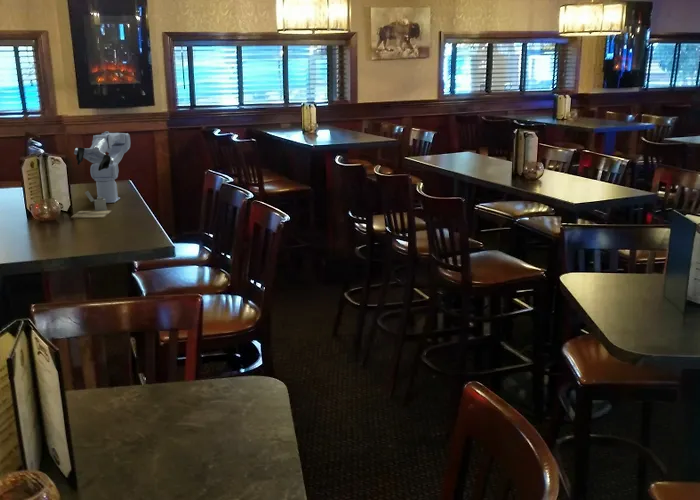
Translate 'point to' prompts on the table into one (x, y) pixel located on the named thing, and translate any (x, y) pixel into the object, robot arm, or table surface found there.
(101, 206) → the lighter
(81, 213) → the cork mat
